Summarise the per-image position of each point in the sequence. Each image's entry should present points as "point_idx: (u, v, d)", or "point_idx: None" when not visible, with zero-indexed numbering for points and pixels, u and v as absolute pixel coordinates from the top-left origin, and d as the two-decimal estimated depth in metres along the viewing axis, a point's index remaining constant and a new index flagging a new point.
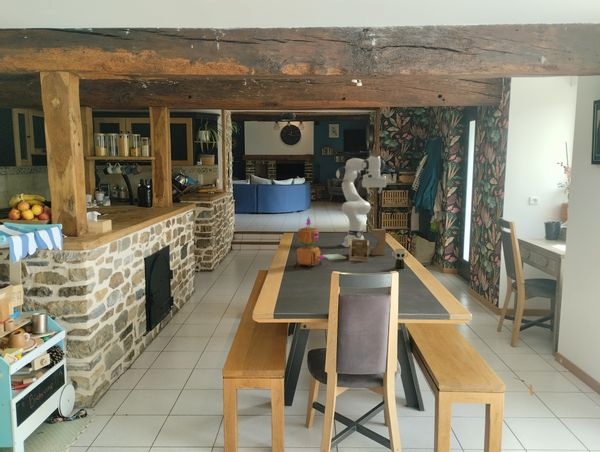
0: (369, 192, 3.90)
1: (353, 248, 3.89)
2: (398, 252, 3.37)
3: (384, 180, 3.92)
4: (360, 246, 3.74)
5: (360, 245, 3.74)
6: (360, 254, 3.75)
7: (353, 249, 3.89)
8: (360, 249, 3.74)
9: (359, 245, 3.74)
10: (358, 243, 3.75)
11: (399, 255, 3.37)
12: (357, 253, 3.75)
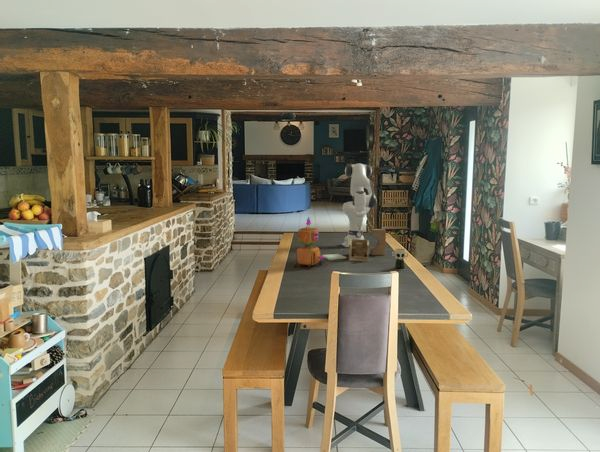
0: (360, 230, 3.70)
1: (353, 248, 3.89)
2: (398, 252, 3.37)
3: None
4: (360, 246, 3.74)
5: (360, 245, 3.74)
6: (360, 254, 3.75)
7: (353, 249, 3.89)
8: (360, 249, 3.74)
9: (359, 245, 3.74)
10: (358, 243, 3.75)
11: (399, 255, 3.37)
12: (357, 253, 3.75)
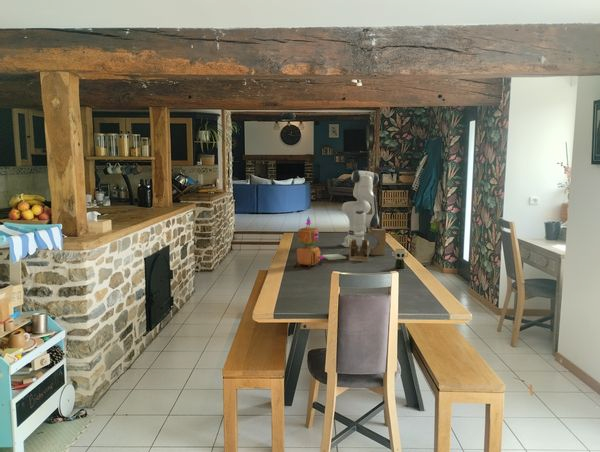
0: None
1: (353, 248, 3.89)
2: (398, 252, 3.37)
3: None
4: None
5: None
6: (360, 254, 3.75)
7: (353, 249, 3.89)
8: (360, 249, 3.74)
9: None
10: None
11: (399, 255, 3.37)
12: (357, 253, 3.75)
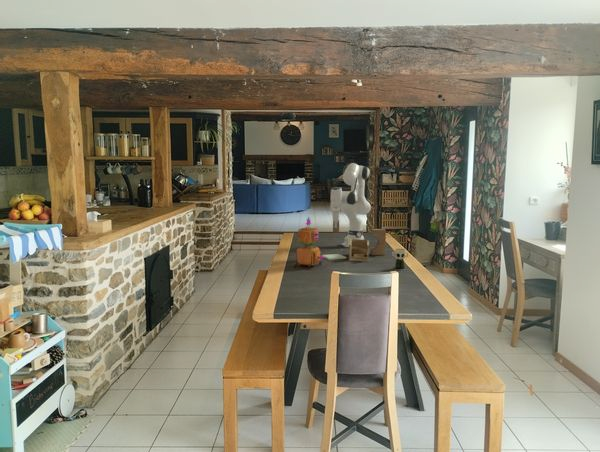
0: None
1: (353, 248, 3.89)
2: (398, 252, 3.37)
3: None
4: (337, 222, 3.71)
5: None
6: (337, 231, 3.71)
7: (353, 249, 3.89)
8: (337, 226, 3.71)
9: None
10: None
11: (399, 255, 3.37)
12: (334, 230, 3.72)
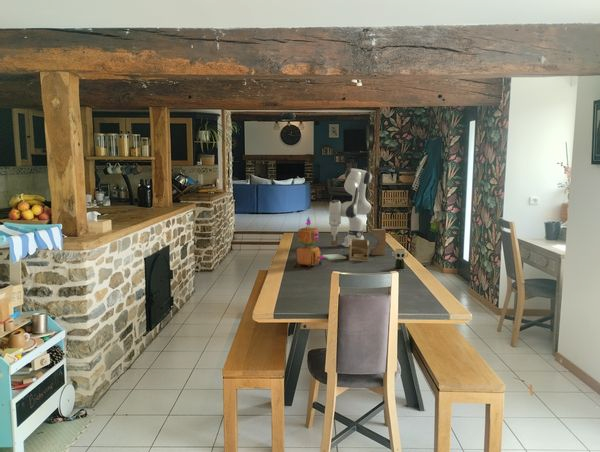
0: (335, 239, 3.72)
1: (353, 248, 3.89)
2: (398, 252, 3.37)
3: None
4: None
5: None
6: (336, 243, 3.73)
7: (353, 249, 3.89)
8: None
9: None
10: None
11: (399, 255, 3.37)
12: (333, 243, 3.73)
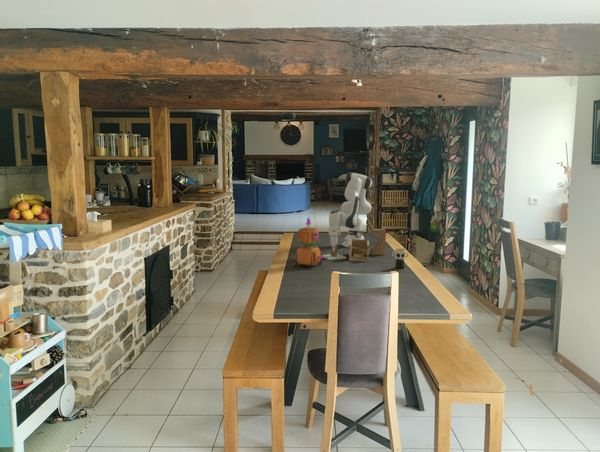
0: None
1: (353, 248, 3.89)
2: (398, 252, 3.37)
3: None
4: (335, 247, 3.73)
5: (335, 246, 3.73)
6: (335, 255, 3.74)
7: (353, 249, 3.89)
8: (335, 250, 3.74)
9: None
10: None
11: (399, 255, 3.37)
12: (332, 254, 3.74)
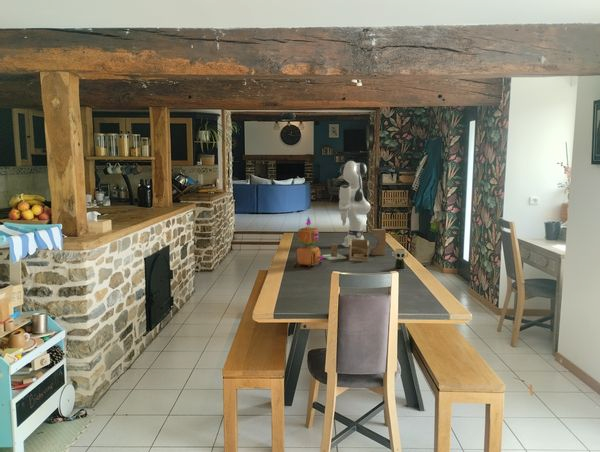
0: (344, 224, 3.74)
1: (353, 248, 3.89)
2: (398, 252, 3.37)
3: None
4: (335, 247, 3.73)
5: (335, 246, 3.73)
6: (335, 255, 3.74)
7: (353, 249, 3.89)
8: (335, 250, 3.74)
9: (334, 246, 3.73)
10: (333, 244, 3.75)
11: (399, 255, 3.37)
12: (332, 254, 3.74)
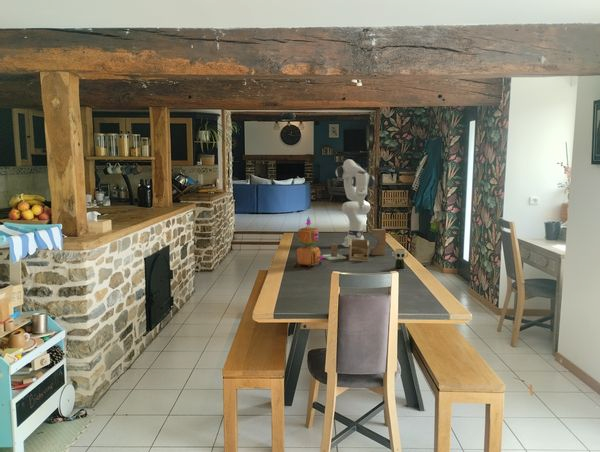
0: (362, 210, 3.79)
1: (353, 248, 3.89)
2: (398, 252, 3.37)
3: None
4: (335, 247, 3.73)
5: (335, 246, 3.73)
6: (335, 255, 3.74)
7: (353, 249, 3.89)
8: (335, 250, 3.74)
9: (334, 246, 3.73)
10: (333, 244, 3.75)
11: (399, 255, 3.37)
12: (332, 254, 3.74)
